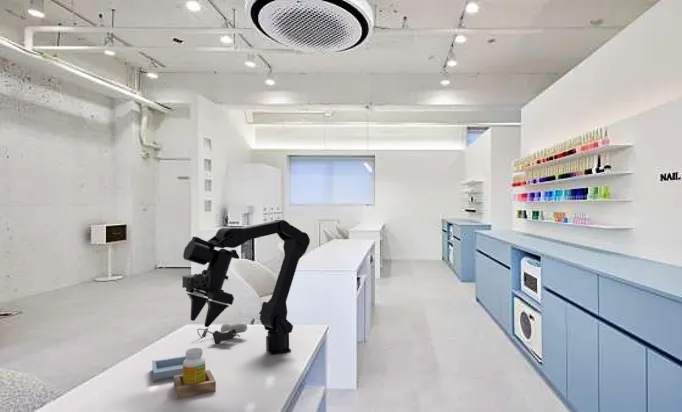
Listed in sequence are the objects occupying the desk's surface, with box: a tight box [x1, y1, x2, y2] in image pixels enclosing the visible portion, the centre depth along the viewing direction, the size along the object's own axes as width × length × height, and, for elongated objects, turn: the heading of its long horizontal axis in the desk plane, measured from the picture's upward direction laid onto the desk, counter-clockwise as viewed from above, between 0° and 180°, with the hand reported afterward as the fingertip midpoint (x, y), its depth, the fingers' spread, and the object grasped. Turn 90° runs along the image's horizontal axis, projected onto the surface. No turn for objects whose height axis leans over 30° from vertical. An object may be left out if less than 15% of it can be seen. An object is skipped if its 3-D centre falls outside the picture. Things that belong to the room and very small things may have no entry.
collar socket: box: [173, 369, 217, 400], centre depth 107 cm, size 9×9×2 cm
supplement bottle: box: [183, 347, 206, 386], centre depth 107 cm, size 5×5×10 cm
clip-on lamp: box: [196, 321, 248, 345], centre depth 149 cm, size 12×6×18 cm
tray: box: [152, 355, 187, 383], centre depth 119 cm, size 12×10×2 cm
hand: (199, 323), depth 118 cm, fingers open, 9 cm apart
